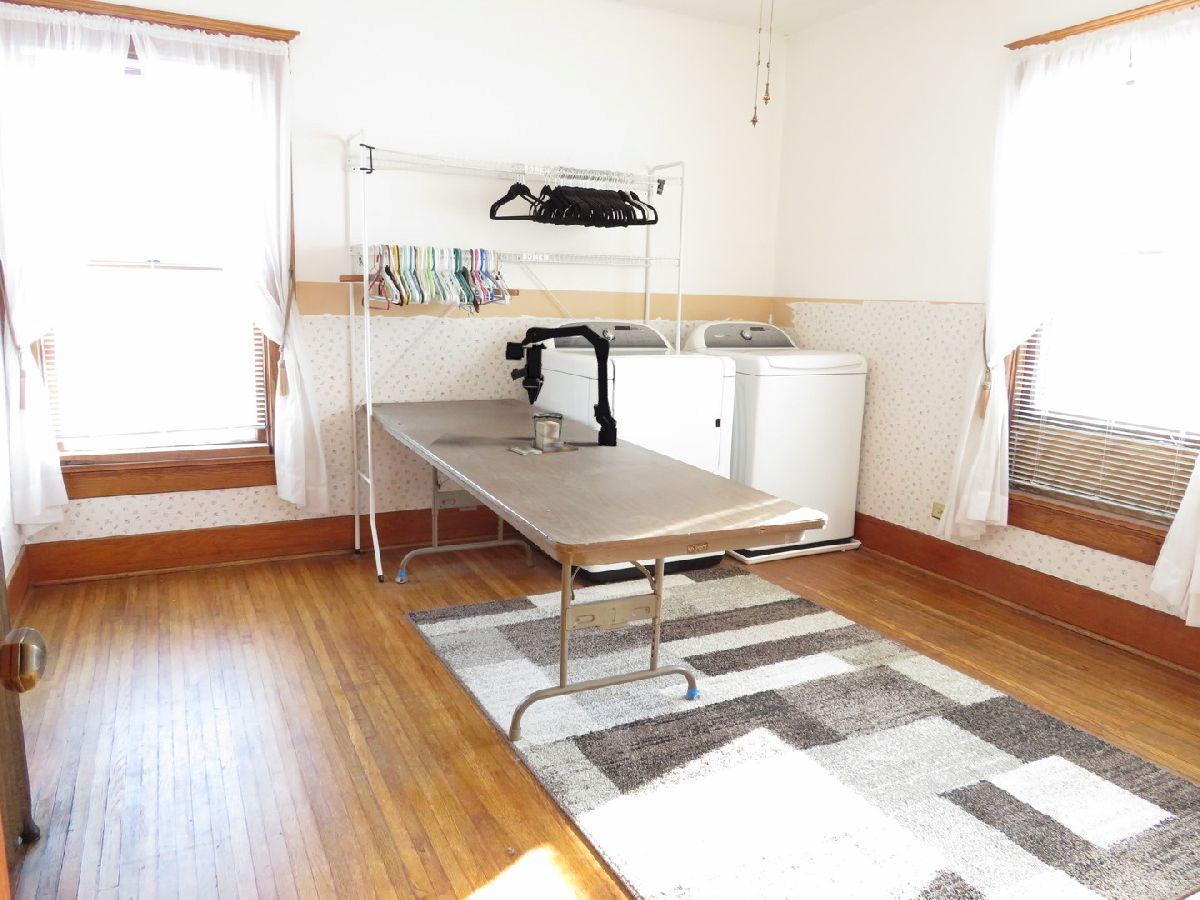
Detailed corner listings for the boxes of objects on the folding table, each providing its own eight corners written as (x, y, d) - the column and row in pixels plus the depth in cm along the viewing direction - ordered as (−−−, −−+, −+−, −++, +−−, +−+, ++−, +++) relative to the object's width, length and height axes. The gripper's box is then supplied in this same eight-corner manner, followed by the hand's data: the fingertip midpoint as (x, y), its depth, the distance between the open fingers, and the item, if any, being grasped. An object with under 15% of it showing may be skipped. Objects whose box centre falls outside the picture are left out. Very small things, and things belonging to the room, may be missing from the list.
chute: (564, 445, 320) (564, 436, 320) (578, 450, 312) (578, 441, 311) (511, 450, 309) (511, 441, 308) (524, 455, 300) (524, 445, 300)
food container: (565, 438, 335) (566, 412, 333) (563, 441, 329) (564, 415, 327) (534, 436, 336) (534, 411, 334) (531, 439, 330) (531, 413, 328)
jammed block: (550, 445, 315) (551, 421, 313) (558, 448, 310) (559, 423, 308) (536, 446, 312) (536, 422, 310) (544, 449, 307) (544, 424, 305)
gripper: (515, 358, 329) (515, 399, 332) (508, 362, 311) (508, 405, 314) (544, 359, 329) (544, 400, 332) (539, 363, 311) (538, 406, 314)
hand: (533, 403), depth 323 cm, fingers open, 9 cm apart
